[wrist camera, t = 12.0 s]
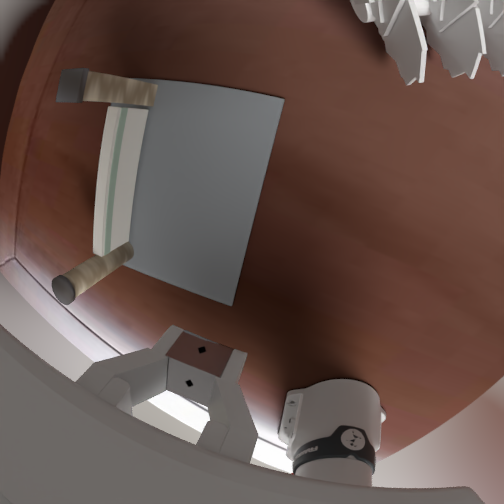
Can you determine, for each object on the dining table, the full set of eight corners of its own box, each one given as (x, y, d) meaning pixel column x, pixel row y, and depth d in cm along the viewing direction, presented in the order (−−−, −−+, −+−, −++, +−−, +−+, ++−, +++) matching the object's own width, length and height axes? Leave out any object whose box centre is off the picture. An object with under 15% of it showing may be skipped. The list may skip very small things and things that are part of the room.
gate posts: (136, 262, 44) (72, 309, 31) (118, 255, 44) (53, 298, 31) (162, 84, 33) (84, 67, 20) (140, 82, 34) (61, 69, 20)
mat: (232, 304, 42) (231, 306, 42) (98, 252, 45) (97, 253, 45) (284, 99, 31) (284, 99, 31) (118, 78, 34) (116, 77, 34)
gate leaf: (129, 241, 42) (102, 257, 36) (120, 237, 42) (92, 252, 36) (149, 109, 34) (118, 107, 28) (138, 108, 34) (107, 106, 28)
